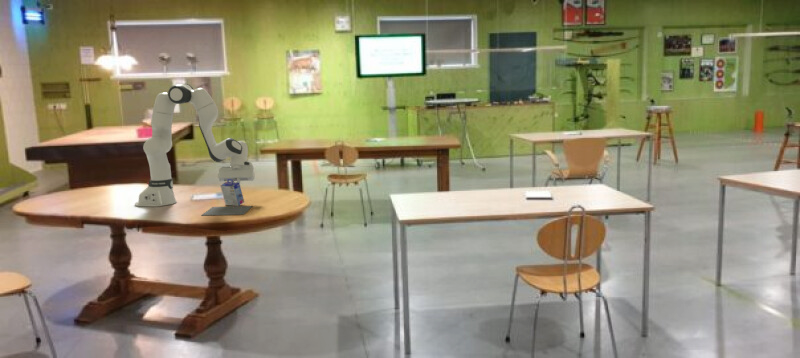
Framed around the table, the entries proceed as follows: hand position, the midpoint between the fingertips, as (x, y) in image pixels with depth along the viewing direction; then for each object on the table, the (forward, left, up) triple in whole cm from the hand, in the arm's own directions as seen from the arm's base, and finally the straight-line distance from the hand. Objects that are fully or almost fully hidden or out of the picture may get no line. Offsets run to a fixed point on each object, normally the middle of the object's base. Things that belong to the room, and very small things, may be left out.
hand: (234, 186), depth 359 cm
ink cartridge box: (0, -1, -10) cm, 10 cm away
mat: (0, -17, -10) cm, 20 cm away
